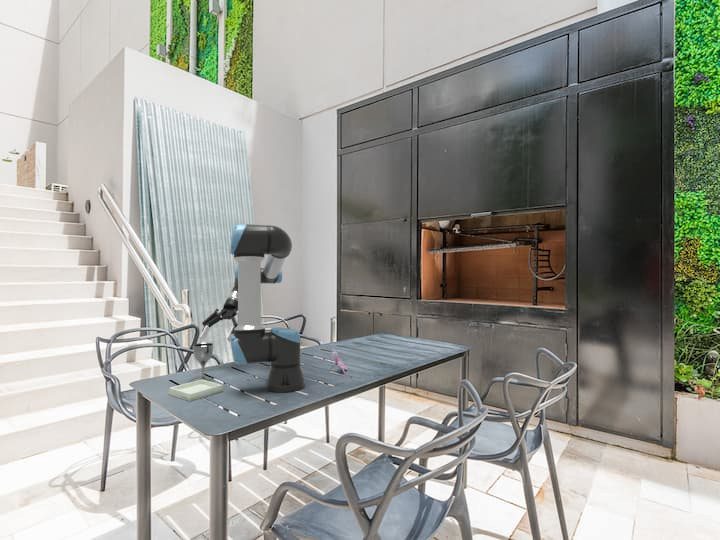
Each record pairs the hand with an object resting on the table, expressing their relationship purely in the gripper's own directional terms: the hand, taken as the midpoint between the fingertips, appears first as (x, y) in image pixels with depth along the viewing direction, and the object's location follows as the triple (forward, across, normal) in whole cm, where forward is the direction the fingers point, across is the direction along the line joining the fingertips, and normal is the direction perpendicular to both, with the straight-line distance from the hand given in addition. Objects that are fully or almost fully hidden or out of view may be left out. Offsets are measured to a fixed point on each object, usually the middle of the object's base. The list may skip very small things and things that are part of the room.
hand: (214, 339), depth 174 cm
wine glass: (+17, 0, -5) cm, 18 cm away
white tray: (+28, -10, +6) cm, 31 cm away
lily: (-2, -52, -25) cm, 57 cm away
